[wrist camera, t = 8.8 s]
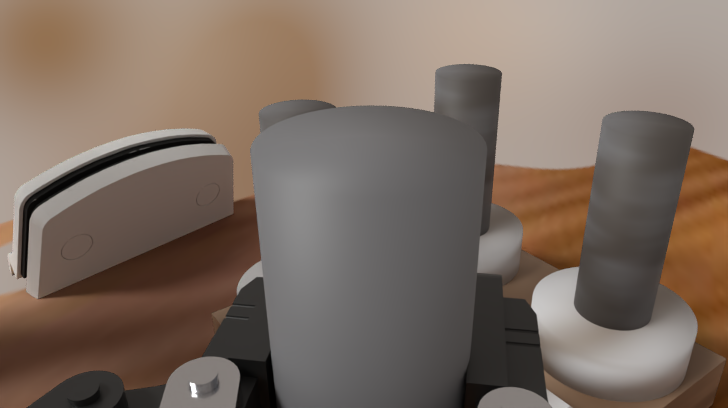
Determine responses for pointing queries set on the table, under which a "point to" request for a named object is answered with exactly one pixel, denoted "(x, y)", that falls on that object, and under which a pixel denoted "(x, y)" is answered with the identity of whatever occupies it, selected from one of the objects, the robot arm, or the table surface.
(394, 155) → the loose leg
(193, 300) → the table surface
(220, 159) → the white arched grooved block
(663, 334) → the upturned partly assembled table
